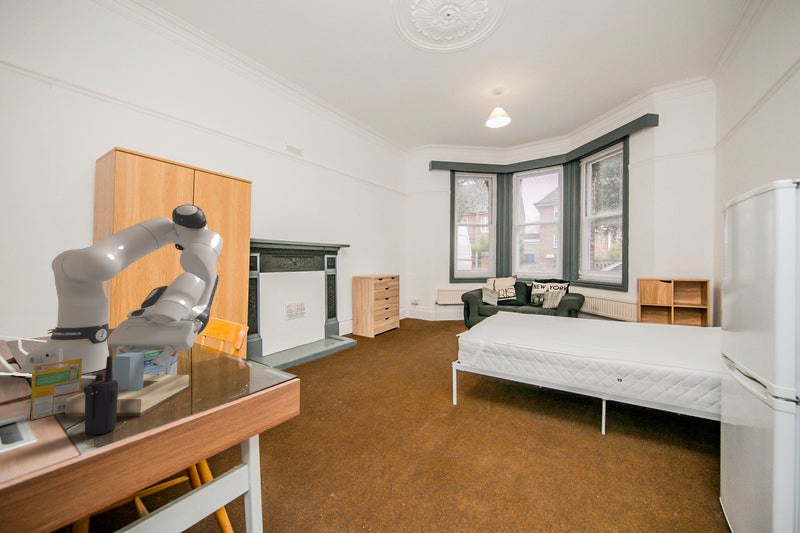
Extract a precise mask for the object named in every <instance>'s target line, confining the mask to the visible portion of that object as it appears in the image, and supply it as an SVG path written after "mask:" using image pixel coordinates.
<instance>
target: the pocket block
mask: <svg viewBox="0 0 800 533" xmlns="http://www.w3.org/2000/svg"><path fill="white" fill-rule="evenodd" d="M189 384H190V374H177V375H144V377H143V389H141V390H139V391H118V397H117V413H116V417H142V416H144V415H146V414H147V413H149V412H151V411H153V410H154V409H156V408H158V407H160V406H161V405H163V404H165V403H167V402H169V401H170V400H172V399H173V398H175V397H178V396H179V395H181V394H182V393H184V392H186V391H188V390H189V388H190V385H189ZM64 417H70V418H71V417H72V418H73V417H78V418H79V417H85V393H84V392H81V393H80V394H77V395H75V396H72V397H70V398H67V399H66V407H65V412H64Z"/></svg>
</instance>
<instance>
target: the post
mask: <svg viewBox="0 0 800 533" xmlns="http://www.w3.org/2000/svg"><path fill="white" fill-rule="evenodd" d="M144 354H145V352H126V353H123V354H119V355H116V354H115V355H113V356H112V361H113V363H112V380H116V381H117V382H118V391H139V390H141V389H143V377H144Z"/></svg>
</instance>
